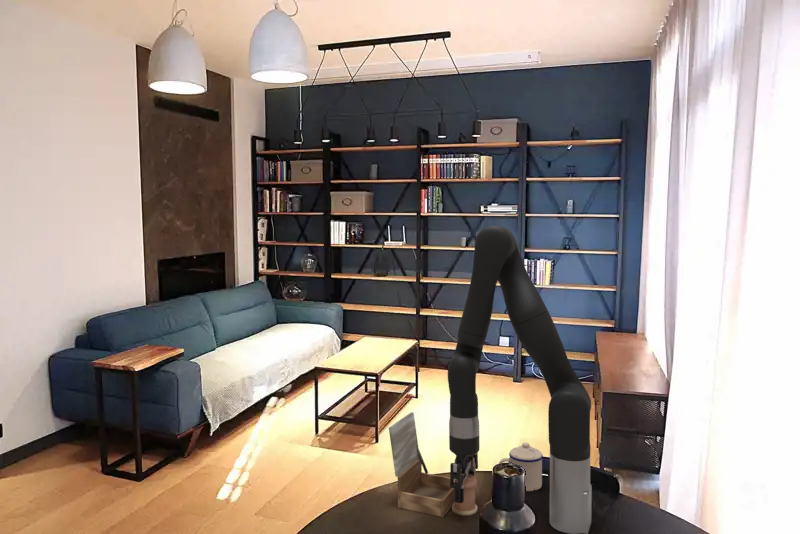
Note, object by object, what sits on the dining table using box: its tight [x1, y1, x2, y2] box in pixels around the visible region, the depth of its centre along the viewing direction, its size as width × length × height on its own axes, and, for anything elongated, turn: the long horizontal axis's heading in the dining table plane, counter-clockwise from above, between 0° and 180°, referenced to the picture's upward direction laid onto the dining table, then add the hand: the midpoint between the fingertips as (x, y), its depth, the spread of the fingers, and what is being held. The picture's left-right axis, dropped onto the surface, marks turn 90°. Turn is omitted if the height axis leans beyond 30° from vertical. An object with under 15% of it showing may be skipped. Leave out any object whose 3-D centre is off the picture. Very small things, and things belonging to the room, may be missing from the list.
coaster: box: [451, 503, 478, 517], centre depth 147 cm, size 6×6×1 cm
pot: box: [454, 474, 478, 511], centre depth 147 cm, size 6×6×7 cm
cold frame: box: [388, 411, 454, 518], centre depth 152 cm, size 15×14×20 cm
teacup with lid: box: [498, 442, 544, 492], centre depth 161 cm, size 12×9×12 cm
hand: (464, 495), depth 147 cm, fingers open, 8 cm apart
